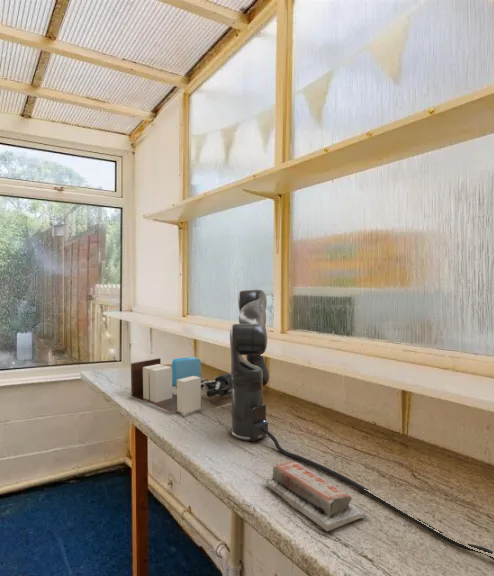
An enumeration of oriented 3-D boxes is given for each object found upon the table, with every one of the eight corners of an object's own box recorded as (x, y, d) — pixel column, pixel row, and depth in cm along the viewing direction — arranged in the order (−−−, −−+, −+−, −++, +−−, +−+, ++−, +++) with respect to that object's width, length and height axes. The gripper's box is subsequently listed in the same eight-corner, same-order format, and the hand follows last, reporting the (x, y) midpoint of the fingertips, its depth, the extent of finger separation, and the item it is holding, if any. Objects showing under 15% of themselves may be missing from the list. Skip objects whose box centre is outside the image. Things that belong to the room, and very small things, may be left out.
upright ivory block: (201, 411, 136) (200, 377, 136) (184, 416, 131) (183, 381, 131) (194, 408, 139) (193, 375, 138) (177, 413, 134) (176, 379, 133)
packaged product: (264, 465, 86) (298, 455, 90) (264, 486, 86) (298, 476, 90) (327, 507, 70) (365, 494, 74) (327, 534, 70) (365, 518, 74)
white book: (165, 395, 152) (164, 365, 151) (148, 399, 146) (148, 368, 146) (159, 393, 154) (159, 363, 154) (143, 397, 149) (142, 367, 149)
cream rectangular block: (172, 398, 148) (171, 367, 148) (155, 402, 143) (155, 370, 143) (166, 396, 151) (166, 365, 151) (150, 400, 146) (149, 369, 145)
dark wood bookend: (199, 405, 142) (199, 367, 142) (170, 414, 133) (170, 374, 133) (158, 391, 161) (158, 357, 161) (130, 398, 152) (130, 363, 152)
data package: (196, 382, 173) (196, 356, 173) (201, 385, 169) (200, 358, 169) (172, 386, 168) (171, 358, 168) (176, 388, 164) (175, 360, 164)
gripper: (216, 370, 153) (185, 377, 143) (243, 376, 143) (213, 385, 132) (216, 388, 154) (185, 397, 143) (243, 396, 143) (213, 406, 132)
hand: (198, 391), depth 138 cm, fingers open, 8 cm apart
